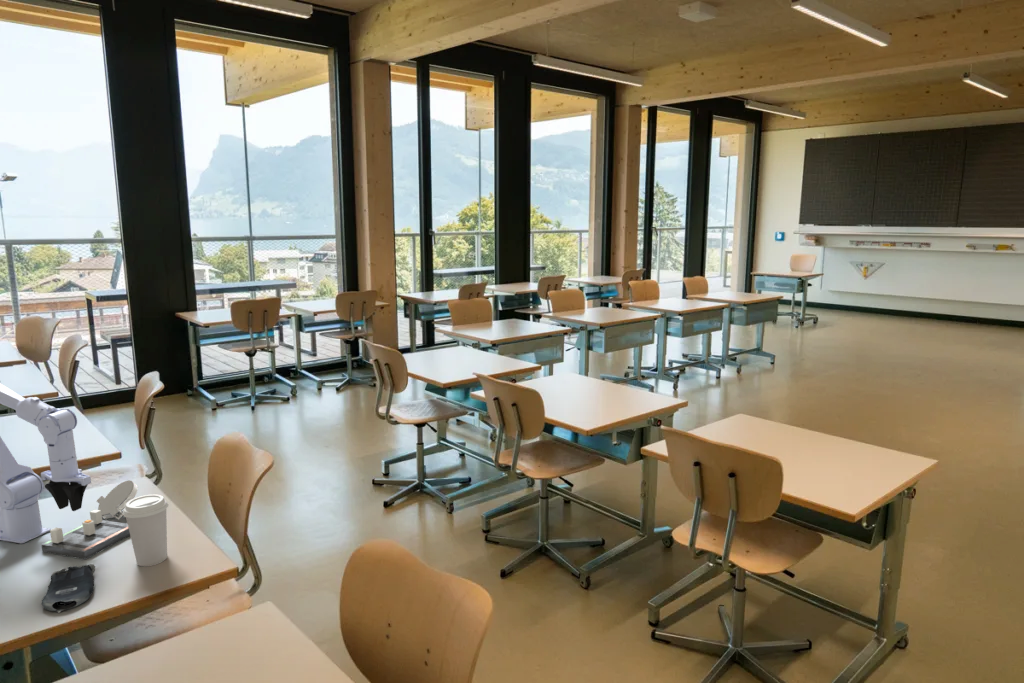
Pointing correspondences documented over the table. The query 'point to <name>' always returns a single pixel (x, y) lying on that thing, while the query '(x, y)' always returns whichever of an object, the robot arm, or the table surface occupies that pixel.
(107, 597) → the table surface
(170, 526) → the table surface
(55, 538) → the block
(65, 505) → the robot arm
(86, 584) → the electronic device
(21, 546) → the table surface
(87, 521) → the block
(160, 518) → the coffee cup
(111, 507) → the tabbed white plastic disc
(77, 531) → the grey slider switch panel
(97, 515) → the block
